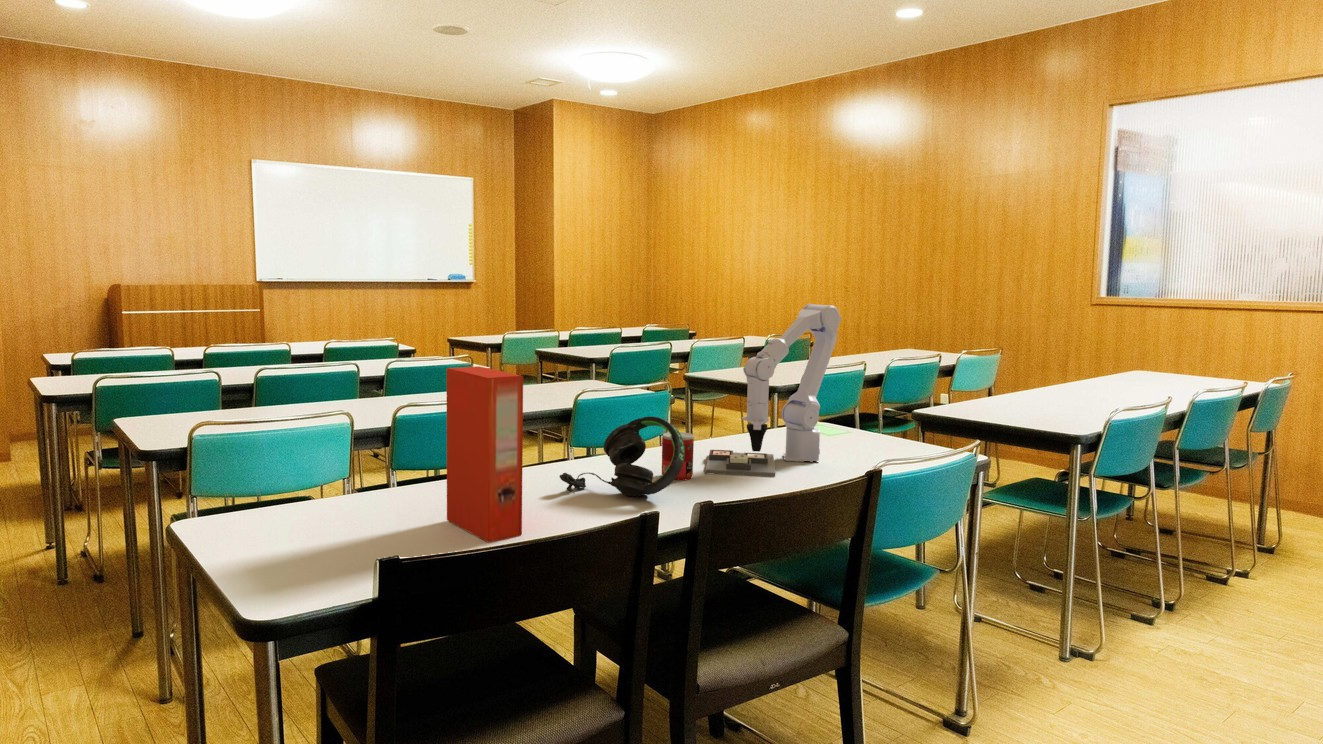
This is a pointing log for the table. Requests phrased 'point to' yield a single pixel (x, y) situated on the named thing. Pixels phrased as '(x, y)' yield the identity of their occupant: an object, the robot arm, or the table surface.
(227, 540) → the table surface
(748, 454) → the key one
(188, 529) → the table surface
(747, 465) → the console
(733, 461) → the key two
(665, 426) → the headset
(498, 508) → the file binder
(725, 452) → the key three
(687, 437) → the canned food
